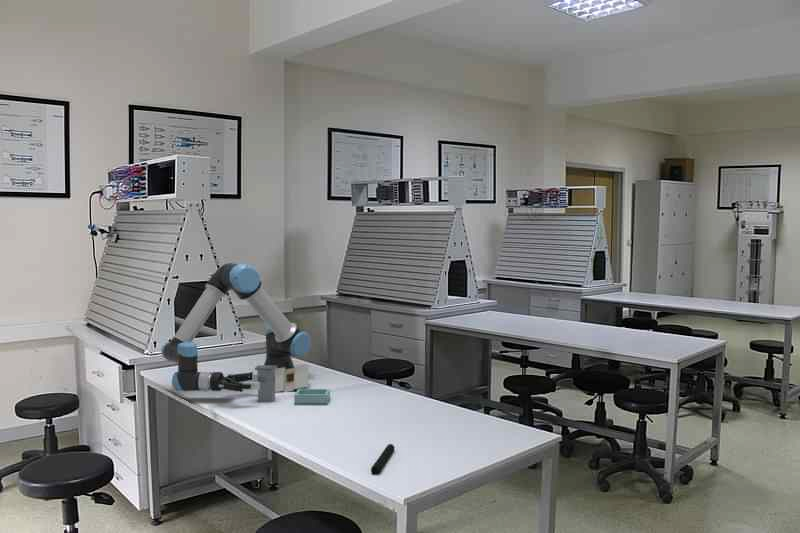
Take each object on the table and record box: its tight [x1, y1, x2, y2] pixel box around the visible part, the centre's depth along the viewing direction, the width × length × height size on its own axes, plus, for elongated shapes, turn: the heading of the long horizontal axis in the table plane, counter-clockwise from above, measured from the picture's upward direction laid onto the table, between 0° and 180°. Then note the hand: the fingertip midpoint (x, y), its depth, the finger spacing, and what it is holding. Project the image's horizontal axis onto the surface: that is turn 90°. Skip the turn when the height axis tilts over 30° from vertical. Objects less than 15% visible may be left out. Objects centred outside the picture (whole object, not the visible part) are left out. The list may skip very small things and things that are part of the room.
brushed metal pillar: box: [254, 364, 277, 403], centre depth 248 cm, size 4×8×14 cm, turn 89°
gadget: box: [370, 443, 395, 475], centre depth 185 cm, size 2×2×20 cm
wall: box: [275, 363, 309, 393], centre depth 269 cm, size 16×9×15 cm
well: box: [293, 388, 331, 406], centre depth 247 cm, size 9×13×4 cm
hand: (263, 381), depth 248 cm, fingers open, 13 cm apart
